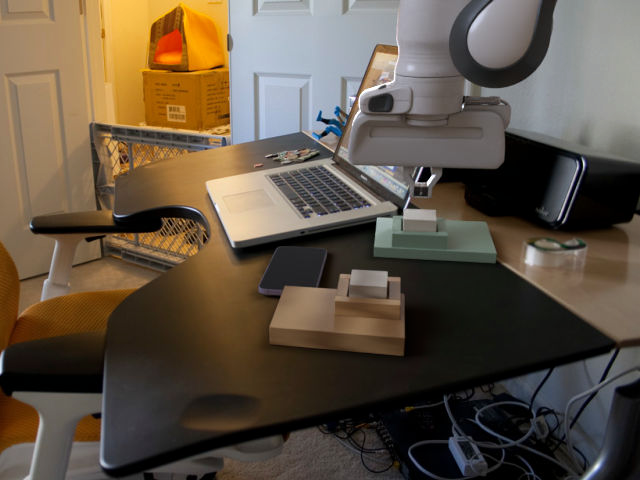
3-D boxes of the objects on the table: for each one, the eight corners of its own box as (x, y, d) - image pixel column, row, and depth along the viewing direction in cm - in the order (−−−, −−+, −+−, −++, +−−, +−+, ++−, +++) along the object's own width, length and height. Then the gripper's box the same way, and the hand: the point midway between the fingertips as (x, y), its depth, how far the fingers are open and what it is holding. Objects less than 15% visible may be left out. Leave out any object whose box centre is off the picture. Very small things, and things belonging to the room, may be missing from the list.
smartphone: (328, 248, 90) (315, 292, 76) (328, 255, 90) (315, 301, 77) (277, 245, 92) (256, 288, 78) (277, 252, 92) (256, 296, 78)
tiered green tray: (485, 230, 96) (487, 209, 94) (495, 263, 85) (498, 239, 83) (376, 226, 99) (377, 205, 98) (373, 256, 88) (374, 233, 87)
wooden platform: (403, 308, 74) (405, 277, 73) (403, 356, 65) (405, 322, 64) (285, 299, 78) (285, 270, 76) (269, 344, 68) (268, 311, 67)
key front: (387, 285, 72) (387, 271, 72) (386, 301, 69) (387, 286, 68) (351, 283, 73) (352, 269, 73) (349, 298, 70) (349, 284, 69)
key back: (434, 223, 91) (435, 209, 90) (436, 234, 87) (437, 220, 86) (402, 221, 92) (403, 208, 91) (402, 232, 88) (403, 219, 87)
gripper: (509, 91, 83) (497, 192, 88) (351, 91, 88) (348, 187, 93) (517, 100, 77) (503, 207, 83) (347, 99, 82) (345, 201, 87)
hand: (420, 196), depth 88 cm, fingers closed
